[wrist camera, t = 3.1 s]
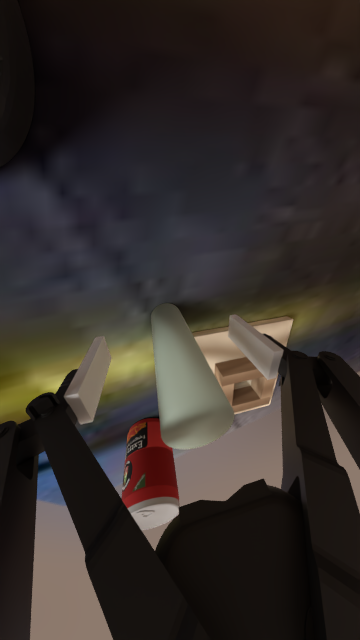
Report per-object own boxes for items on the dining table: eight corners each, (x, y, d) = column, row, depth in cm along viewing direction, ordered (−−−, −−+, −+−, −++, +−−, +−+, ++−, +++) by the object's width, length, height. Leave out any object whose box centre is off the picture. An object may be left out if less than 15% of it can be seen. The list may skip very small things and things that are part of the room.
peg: (148, 305, 19) (155, 412, 7) (179, 301, 20) (237, 391, 8) (153, 333, 21) (165, 457, 9) (182, 328, 22) (231, 437, 9)
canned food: (139, 413, 27) (136, 505, 18) (176, 420, 30) (192, 503, 21) (120, 439, 29) (108, 535, 20) (157, 444, 32) (162, 529, 23)
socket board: (189, 333, 22) (197, 349, 19) (287, 316, 25) (310, 328, 21) (194, 418, 31) (200, 440, 28) (265, 399, 34) (279, 418, 30)
